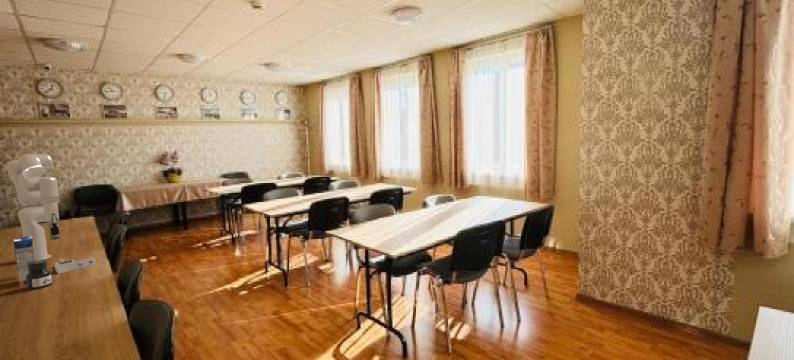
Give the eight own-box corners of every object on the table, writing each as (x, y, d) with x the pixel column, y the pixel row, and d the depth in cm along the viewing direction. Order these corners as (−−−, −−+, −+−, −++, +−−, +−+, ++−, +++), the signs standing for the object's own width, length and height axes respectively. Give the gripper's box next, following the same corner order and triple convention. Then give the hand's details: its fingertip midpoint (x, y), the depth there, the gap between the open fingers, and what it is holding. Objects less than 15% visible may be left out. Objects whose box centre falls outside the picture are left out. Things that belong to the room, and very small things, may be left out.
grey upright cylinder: (49, 239, 213) (48, 226, 212) (59, 237, 216) (57, 225, 215) (50, 240, 210) (49, 227, 209) (60, 238, 213) (59, 225, 212)
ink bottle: (36, 290, 184) (32, 265, 183) (21, 289, 186) (18, 265, 185) (57, 283, 194) (54, 259, 192) (43, 282, 195) (40, 258, 194)
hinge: (52, 267, 219) (51, 259, 219) (90, 260, 232) (89, 252, 231) (58, 273, 208) (57, 265, 207) (97, 265, 220) (96, 257, 220)
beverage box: (19, 286, 191) (13, 241, 189) (19, 280, 199) (13, 238, 197) (38, 282, 196) (33, 238, 193) (37, 277, 204) (32, 235, 201)
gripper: (38, 200, 214) (43, 233, 216) (43, 202, 203) (47, 237, 204) (56, 198, 219) (61, 231, 221) (62, 200, 208) (66, 234, 210)
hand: (54, 233), depth 213 cm, fingers closed on grey upright cylinder, 4 cm apart
